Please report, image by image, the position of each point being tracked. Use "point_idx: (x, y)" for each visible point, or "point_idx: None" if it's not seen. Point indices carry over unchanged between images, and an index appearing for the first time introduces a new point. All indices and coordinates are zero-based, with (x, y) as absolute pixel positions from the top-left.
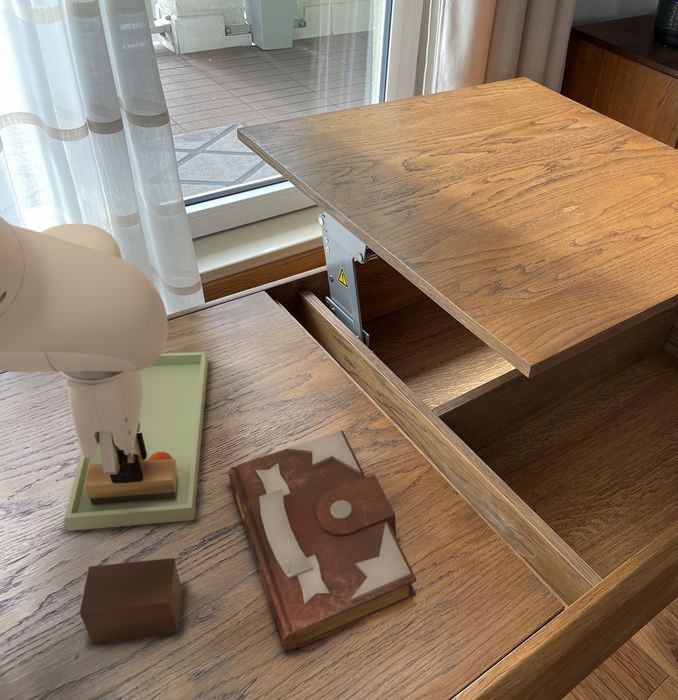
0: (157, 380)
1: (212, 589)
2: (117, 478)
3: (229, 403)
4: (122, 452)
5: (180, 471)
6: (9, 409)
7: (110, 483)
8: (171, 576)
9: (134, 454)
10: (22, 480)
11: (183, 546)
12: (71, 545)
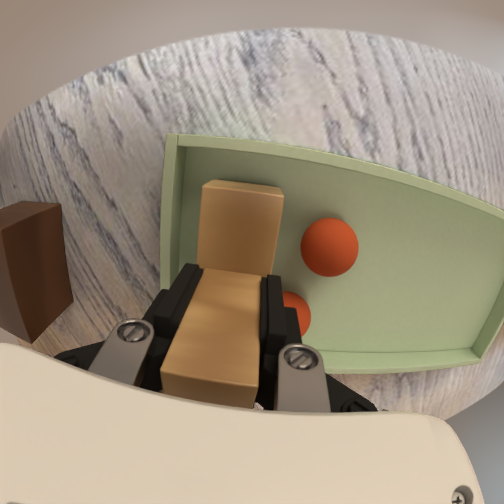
0: (480, 293)
1: (78, 329)
2: (159, 295)
3: (394, 378)
4: (149, 382)
5: None
6: (485, 69)
7: (200, 249)
8: (13, 334)
9: (161, 392)
10: (337, 50)
11: (129, 312)
12: (149, 144)
